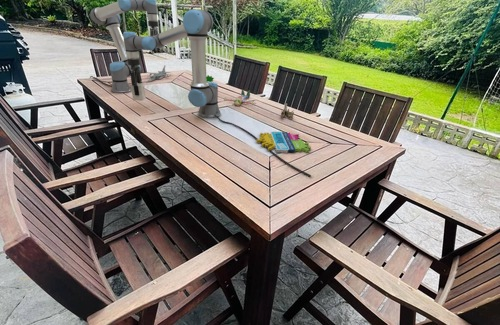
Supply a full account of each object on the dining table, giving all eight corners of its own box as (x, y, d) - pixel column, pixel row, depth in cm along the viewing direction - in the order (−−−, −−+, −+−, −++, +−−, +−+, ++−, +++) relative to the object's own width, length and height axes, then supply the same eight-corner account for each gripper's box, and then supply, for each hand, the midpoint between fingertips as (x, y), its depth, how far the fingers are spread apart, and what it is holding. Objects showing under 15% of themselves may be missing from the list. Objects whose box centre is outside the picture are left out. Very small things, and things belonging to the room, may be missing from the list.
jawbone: (291, 106, 199) (293, 98, 190) (292, 123, 193) (294, 114, 184) (278, 106, 199) (280, 97, 190) (279, 122, 193) (281, 114, 184)
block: (145, 98, 185) (143, 83, 180) (143, 100, 180) (141, 85, 175) (136, 97, 185) (133, 83, 180) (133, 100, 179) (130, 85, 174)
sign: (313, 150, 142) (258, 149, 139) (312, 153, 143) (258, 152, 140) (301, 132, 164) (254, 130, 161) (301, 134, 165) (254, 133, 162)
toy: (261, 91, 228) (254, 99, 202) (261, 99, 231) (253, 108, 205) (231, 87, 233) (220, 95, 207) (230, 95, 236) (219, 104, 210)
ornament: (208, 92, 257) (212, 77, 255) (210, 92, 249) (214, 76, 248) (188, 85, 249) (191, 70, 247) (189, 85, 241) (193, 69, 239)
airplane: (140, 75, 284) (139, 65, 279) (170, 73, 298) (169, 64, 293) (146, 83, 256) (144, 73, 251) (178, 81, 269) (177, 71, 264)
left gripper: (152, 20, 209) (155, 48, 220) (143, 20, 188) (147, 52, 198) (161, 20, 210) (164, 49, 220) (154, 21, 188) (157, 53, 199)
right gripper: (132, 56, 177) (137, 90, 189) (121, 60, 161) (128, 97, 172) (143, 56, 178) (148, 90, 189) (134, 60, 161) (140, 97, 172)
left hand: (156, 50), depth 209 cm, fingers open, 13 cm apart
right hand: (138, 93), depth 180 cm, fingers closed on block, 6 cm apart
